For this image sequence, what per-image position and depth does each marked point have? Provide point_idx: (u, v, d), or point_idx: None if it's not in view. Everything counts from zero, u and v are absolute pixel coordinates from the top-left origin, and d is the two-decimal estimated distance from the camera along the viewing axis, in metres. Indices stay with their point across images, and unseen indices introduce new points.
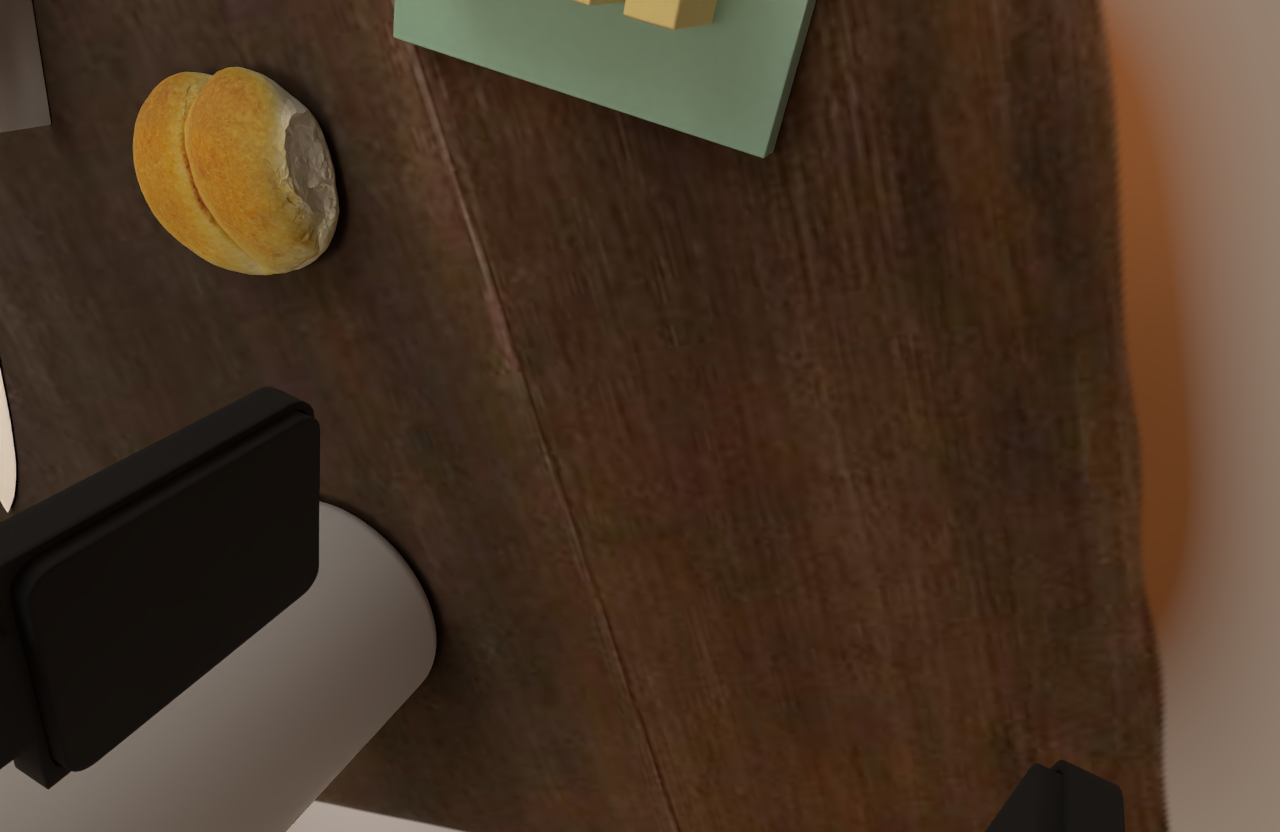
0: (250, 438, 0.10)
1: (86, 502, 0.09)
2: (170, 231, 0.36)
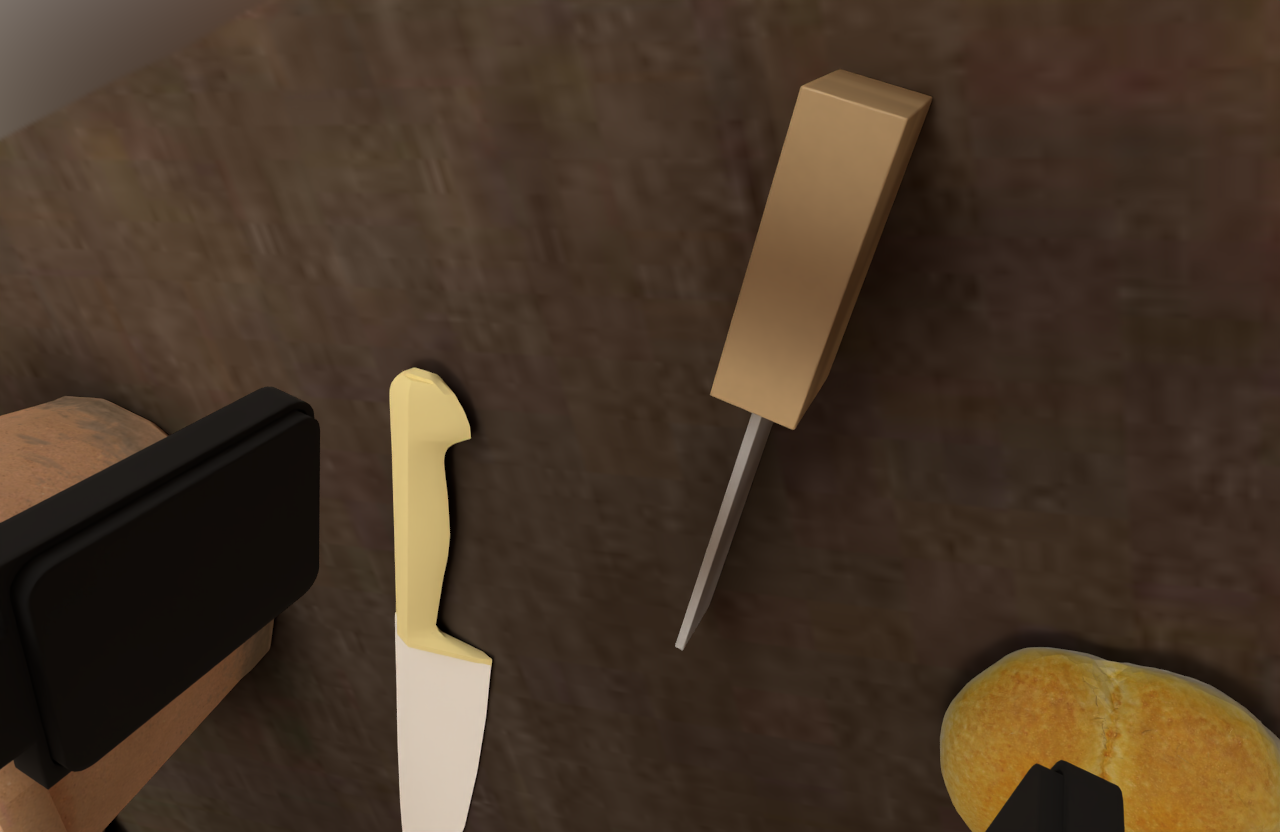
0: (250, 438, 0.10)
1: (86, 502, 0.09)
2: None
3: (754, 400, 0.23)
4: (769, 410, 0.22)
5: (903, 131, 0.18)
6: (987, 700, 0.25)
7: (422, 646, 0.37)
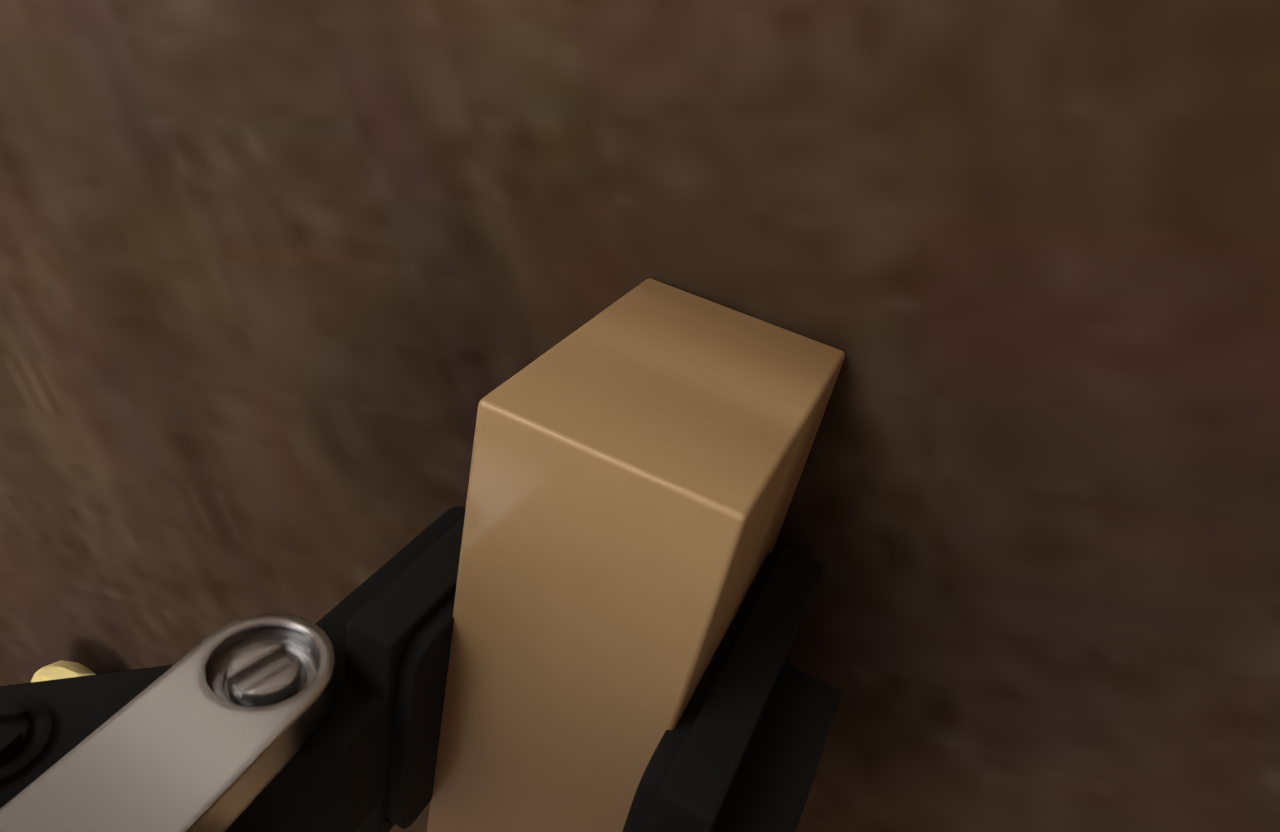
0: None
1: (442, 569, 0.09)
2: None
3: None
4: None
5: (737, 541, 0.07)
6: None
7: None
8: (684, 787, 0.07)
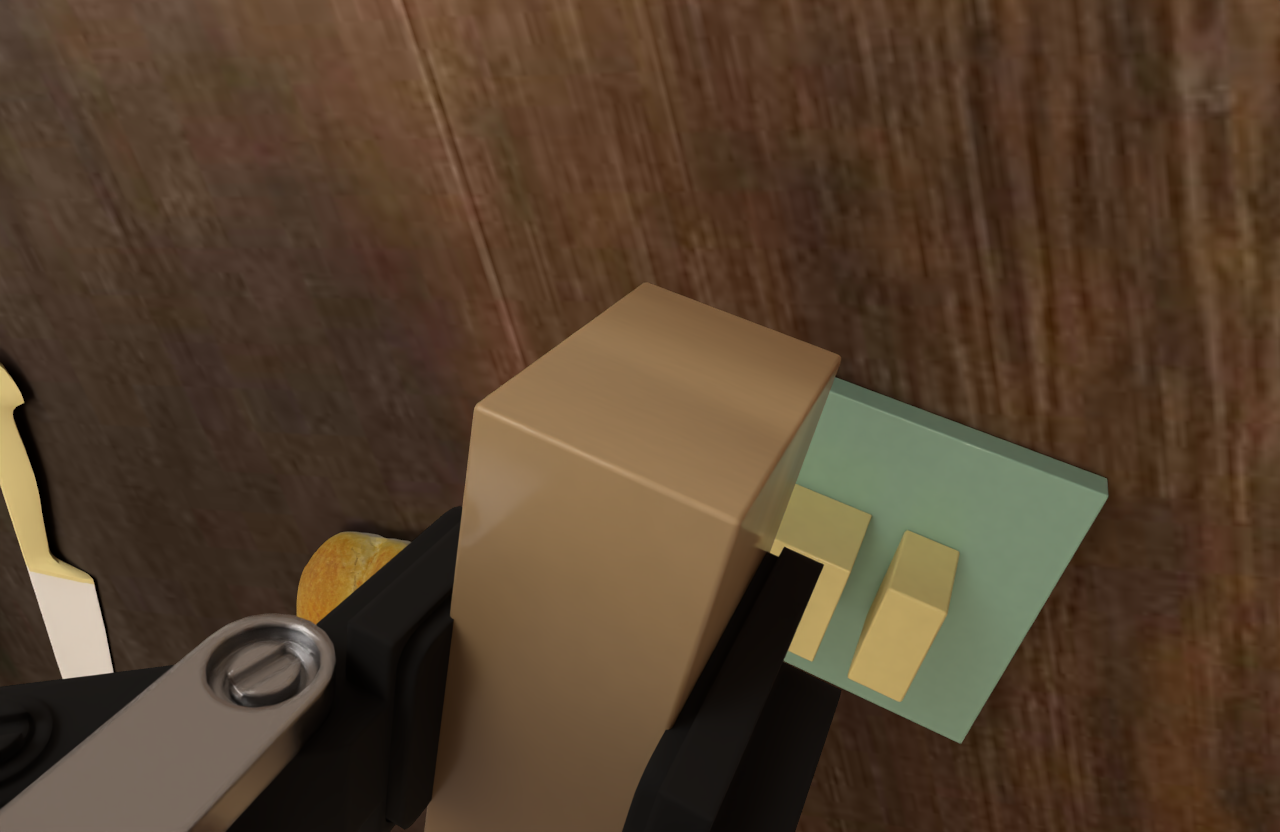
0: None
1: (443, 570, 0.09)
2: None
3: None
4: None
5: (732, 545, 0.07)
6: (305, 568, 0.36)
7: (39, 570, 0.48)
8: (683, 787, 0.07)
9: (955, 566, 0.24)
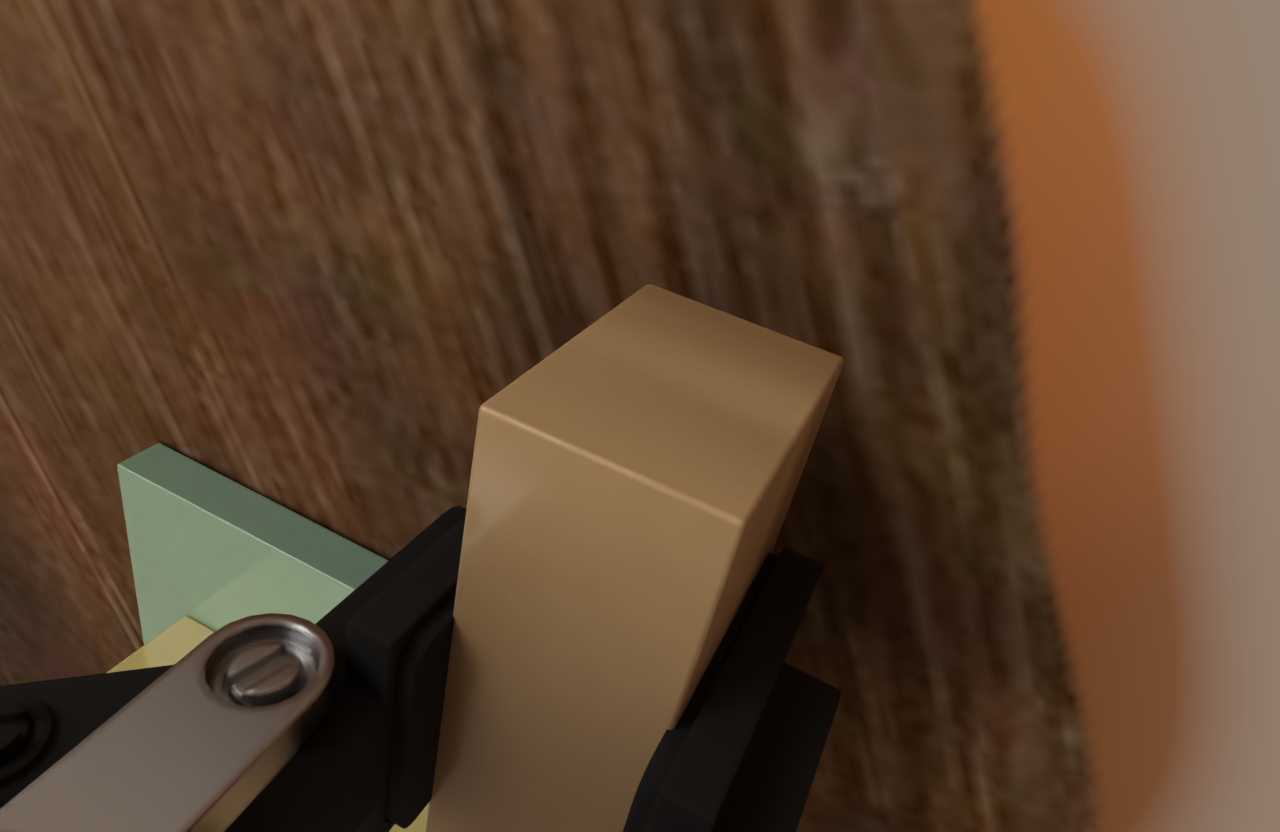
0: None
1: (442, 569, 0.09)
2: None
3: None
4: None
5: (736, 546, 0.07)
6: None
7: None
8: (684, 787, 0.07)
9: None
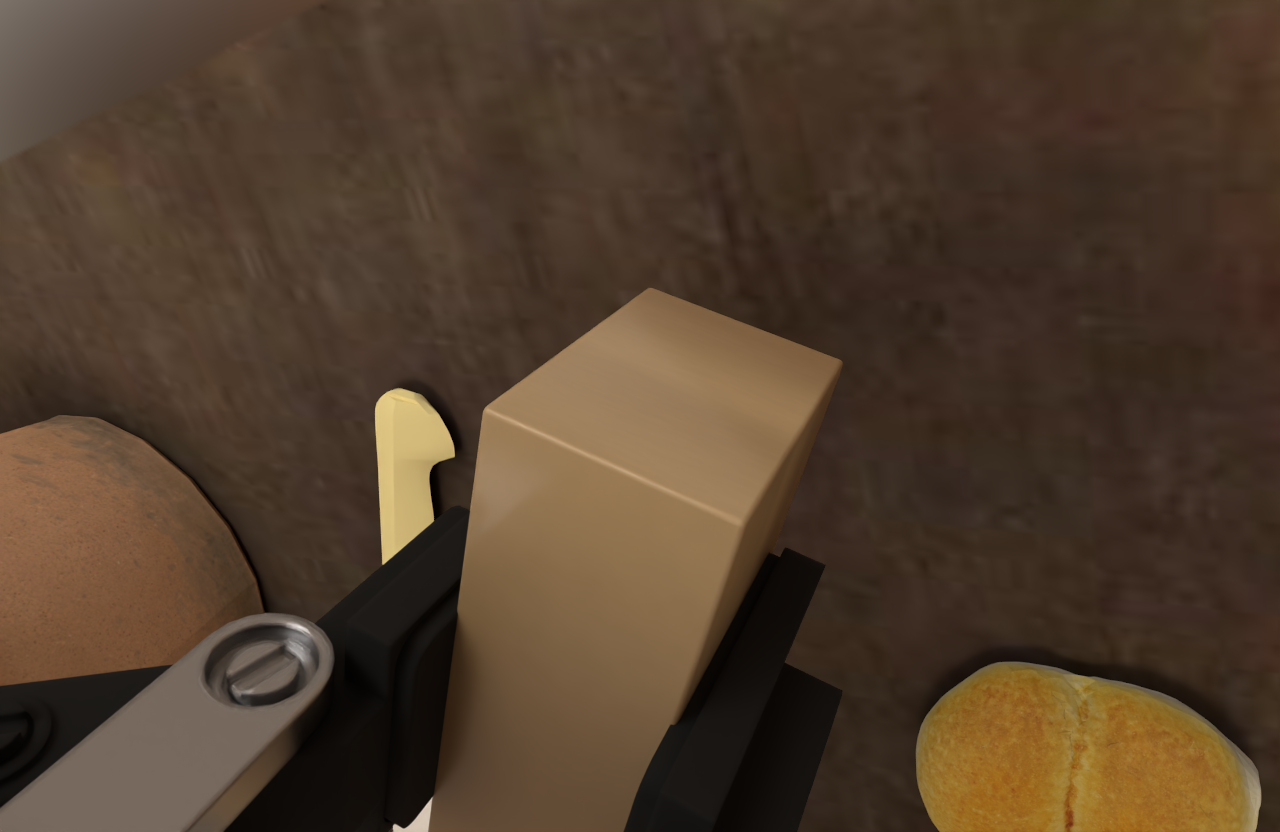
0: None
1: (441, 569, 0.09)
2: None
3: None
4: None
5: (737, 546, 0.07)
6: (959, 714, 0.26)
7: None
8: (685, 788, 0.07)
9: None
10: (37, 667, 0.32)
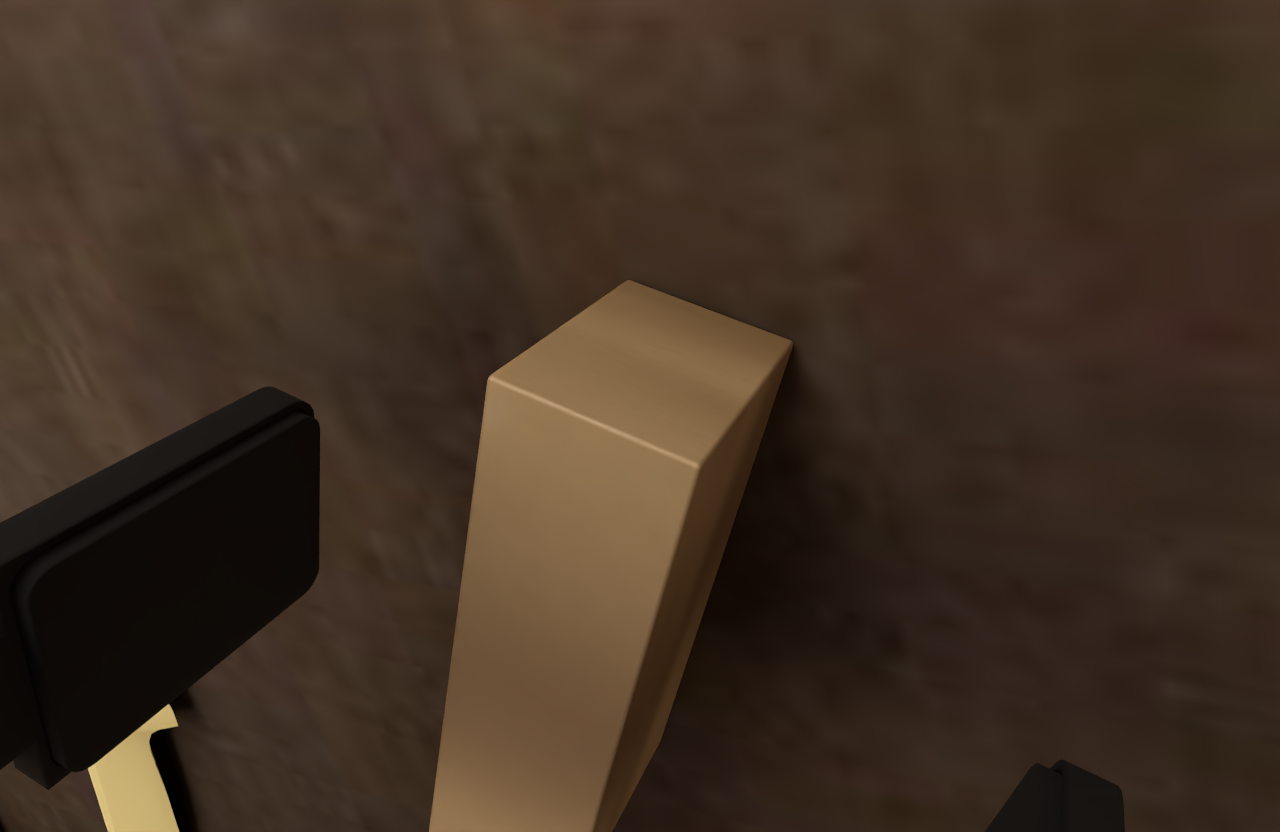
0: (250, 438, 0.10)
1: (85, 502, 0.09)
2: None
3: None
4: None
5: (695, 486, 0.09)
6: None
7: None
8: None
9: None
10: None
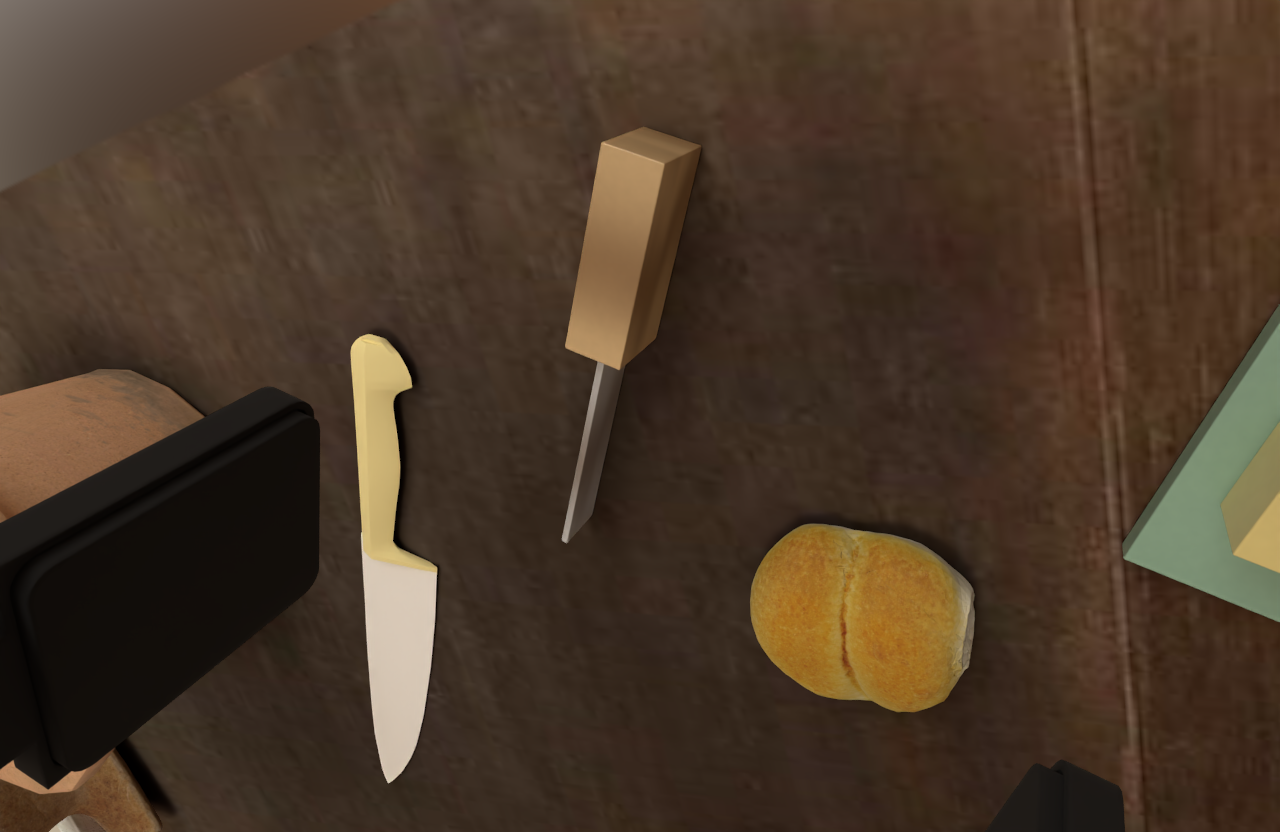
0: (250, 438, 0.10)
1: (85, 502, 0.09)
2: (786, 669, 0.36)
3: (593, 350, 0.33)
4: (603, 356, 0.33)
5: (663, 171, 0.29)
6: (772, 560, 0.35)
7: (382, 558, 0.48)
8: None
9: None
10: None
